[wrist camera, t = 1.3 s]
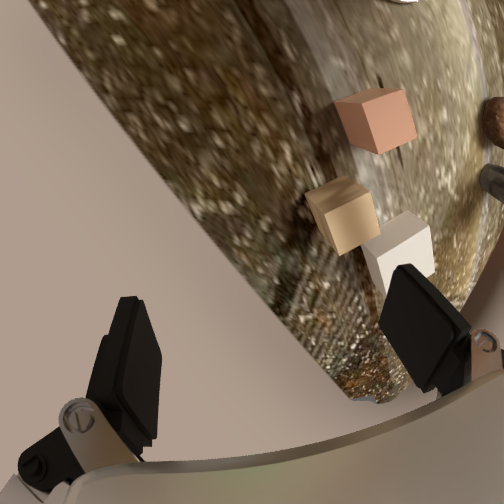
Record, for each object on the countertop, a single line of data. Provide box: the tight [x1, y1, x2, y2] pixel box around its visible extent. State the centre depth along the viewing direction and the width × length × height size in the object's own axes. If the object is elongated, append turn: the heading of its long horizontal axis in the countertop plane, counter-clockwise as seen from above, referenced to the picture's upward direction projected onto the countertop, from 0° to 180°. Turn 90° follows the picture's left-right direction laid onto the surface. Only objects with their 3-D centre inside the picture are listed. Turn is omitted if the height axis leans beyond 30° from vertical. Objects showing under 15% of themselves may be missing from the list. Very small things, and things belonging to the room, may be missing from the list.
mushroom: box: [483, 97, 504, 149], centre depth 26 cm, size 8×8×6 cm
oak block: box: [305, 175, 381, 256], centre depth 29 cm, size 5×5×6 cm
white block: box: [361, 210, 435, 298], centre depth 34 cm, size 8×8×5 cm
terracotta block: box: [334, 88, 417, 155], centre depth 24 cm, size 5×5×6 cm
